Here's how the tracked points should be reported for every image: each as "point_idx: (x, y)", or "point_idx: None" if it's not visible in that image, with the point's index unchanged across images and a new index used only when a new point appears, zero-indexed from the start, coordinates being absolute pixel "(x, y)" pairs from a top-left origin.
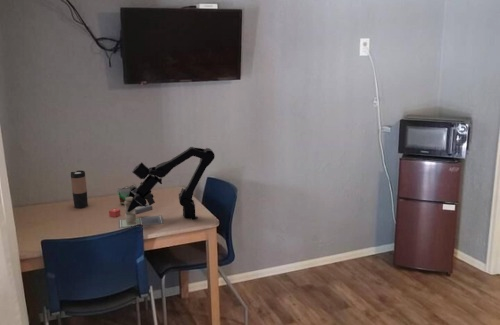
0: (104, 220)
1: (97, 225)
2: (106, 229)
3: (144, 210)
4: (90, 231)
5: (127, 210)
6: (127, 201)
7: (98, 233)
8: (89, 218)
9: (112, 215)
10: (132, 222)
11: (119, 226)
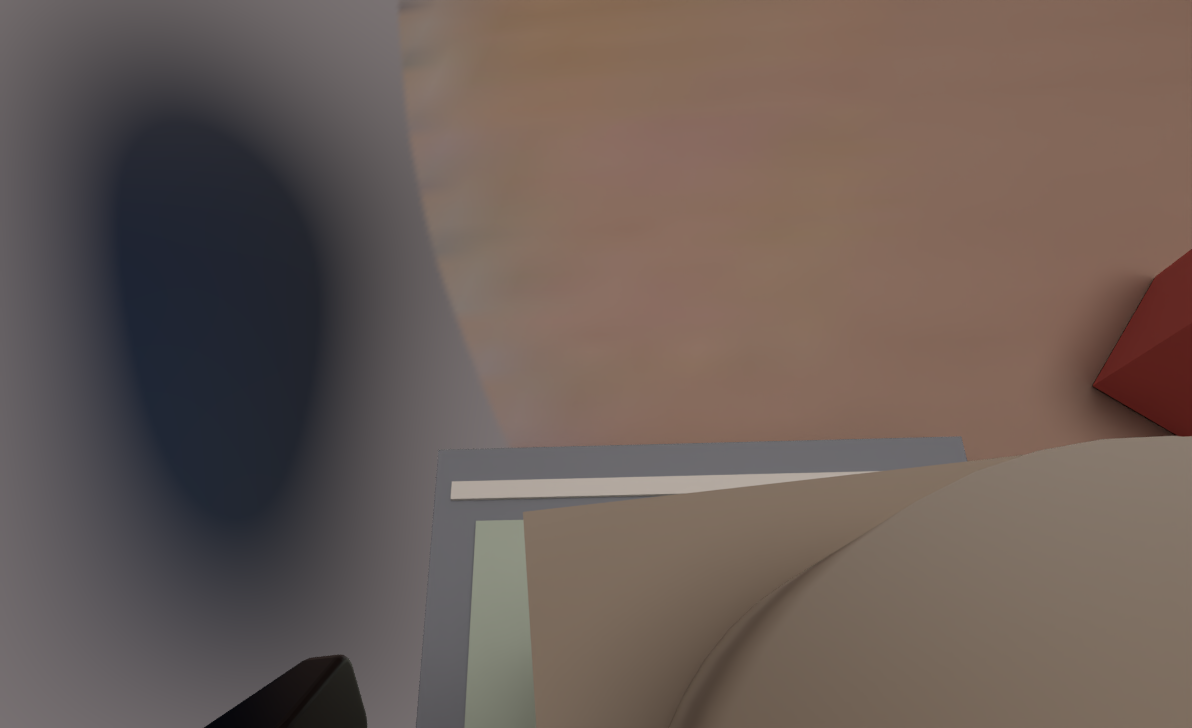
0: (1027, 204)
1: (790, 124)
2: (564, 255)
3: None
4: (553, 60)
5: (300, 663)
6: (694, 710)
7: (427, 158)
8: (1130, 6)
9: (1172, 298)
10: None
11: (539, 463)
